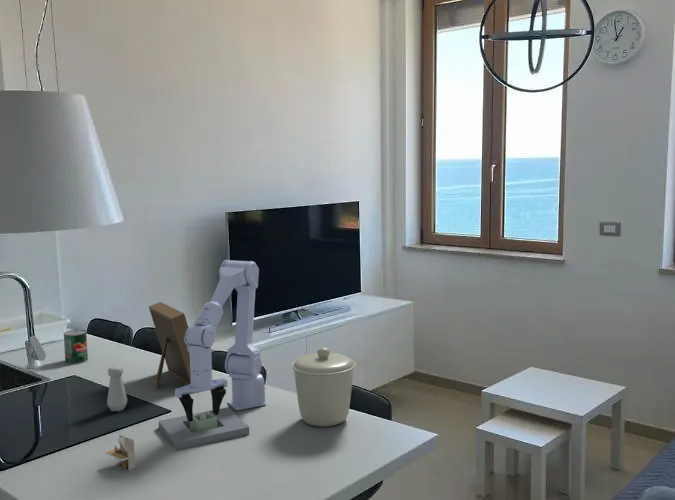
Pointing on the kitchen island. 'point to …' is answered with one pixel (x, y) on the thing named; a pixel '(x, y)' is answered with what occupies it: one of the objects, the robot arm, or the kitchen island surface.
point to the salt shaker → (116, 389)
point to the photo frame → (171, 341)
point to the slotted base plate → (185, 438)
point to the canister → (323, 387)
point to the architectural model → (124, 452)
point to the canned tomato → (75, 346)
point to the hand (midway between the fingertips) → (203, 417)
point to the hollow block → (203, 422)
